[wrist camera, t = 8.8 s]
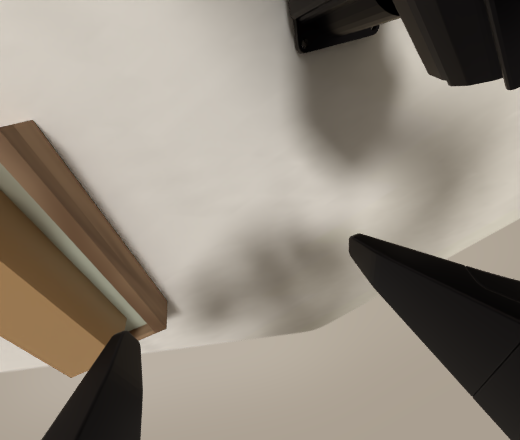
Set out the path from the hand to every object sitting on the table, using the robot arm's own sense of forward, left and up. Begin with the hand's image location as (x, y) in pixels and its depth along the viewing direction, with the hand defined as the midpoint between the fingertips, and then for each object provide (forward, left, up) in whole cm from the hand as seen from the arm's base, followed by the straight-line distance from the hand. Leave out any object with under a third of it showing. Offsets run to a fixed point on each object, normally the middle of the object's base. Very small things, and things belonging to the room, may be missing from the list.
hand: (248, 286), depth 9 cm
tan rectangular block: (+13, +2, -10) cm, 16 cm away
